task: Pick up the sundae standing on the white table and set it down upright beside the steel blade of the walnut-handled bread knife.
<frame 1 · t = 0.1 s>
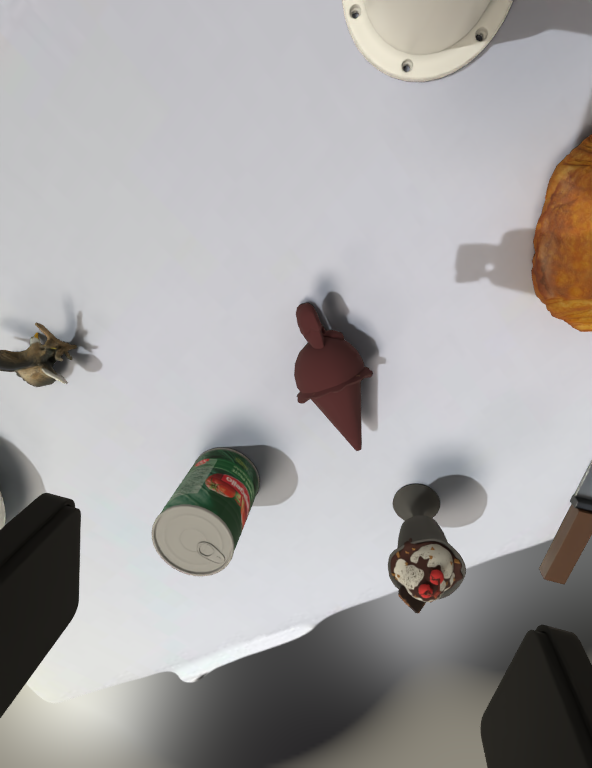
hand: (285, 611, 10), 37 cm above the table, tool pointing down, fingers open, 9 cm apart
canned tomato: (226, 477, 53), on the table
sundae: (415, 501, 50), on the table
icecream: (334, 366, 46), on the table
eagle figurine: (46, 351, 51), on the table
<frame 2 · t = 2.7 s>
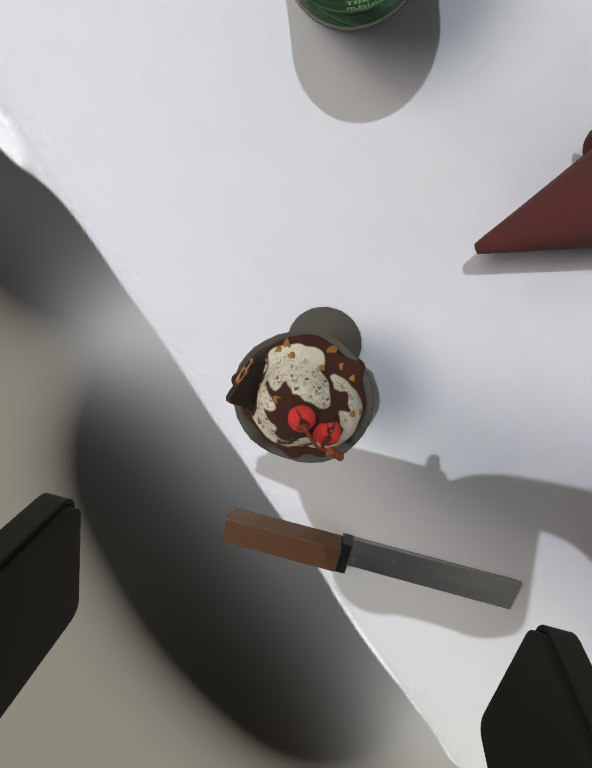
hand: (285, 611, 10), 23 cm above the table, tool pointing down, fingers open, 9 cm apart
knife: (380, 558, 36), on the table
sundae: (325, 342, 31), on the table
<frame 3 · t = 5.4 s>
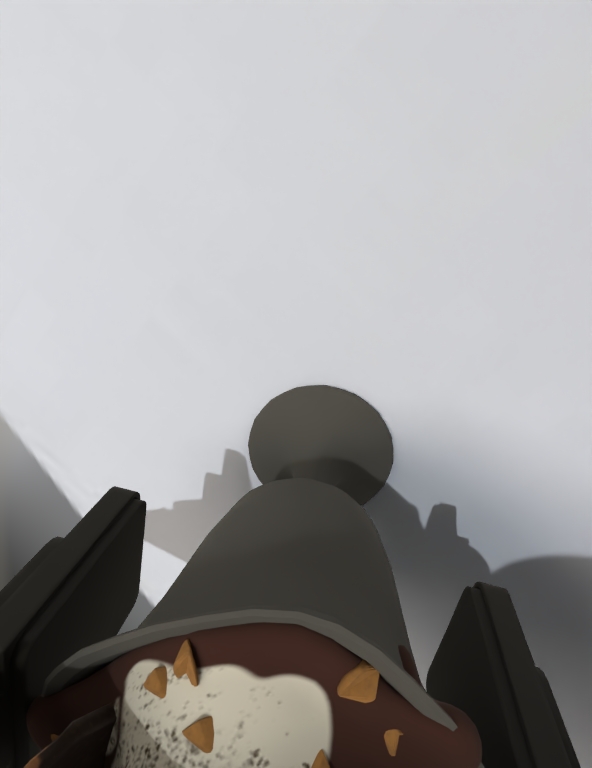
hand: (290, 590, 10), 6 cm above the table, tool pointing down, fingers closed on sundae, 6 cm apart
sundae: (321, 448, 16), on the table, touching gripper
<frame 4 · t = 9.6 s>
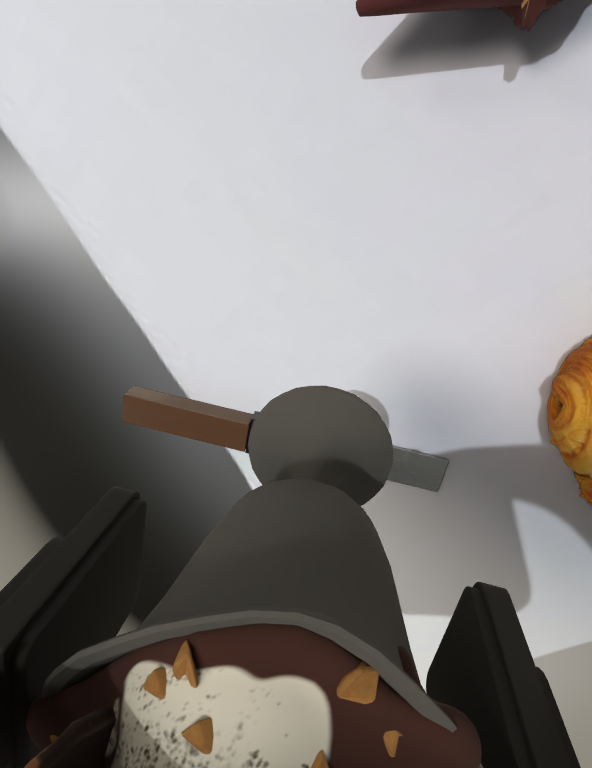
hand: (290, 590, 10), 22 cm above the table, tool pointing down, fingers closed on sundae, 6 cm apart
knife: (296, 439, 33), on the table
sundae: (321, 448, 16), point 15 cm above the table, touching gripper
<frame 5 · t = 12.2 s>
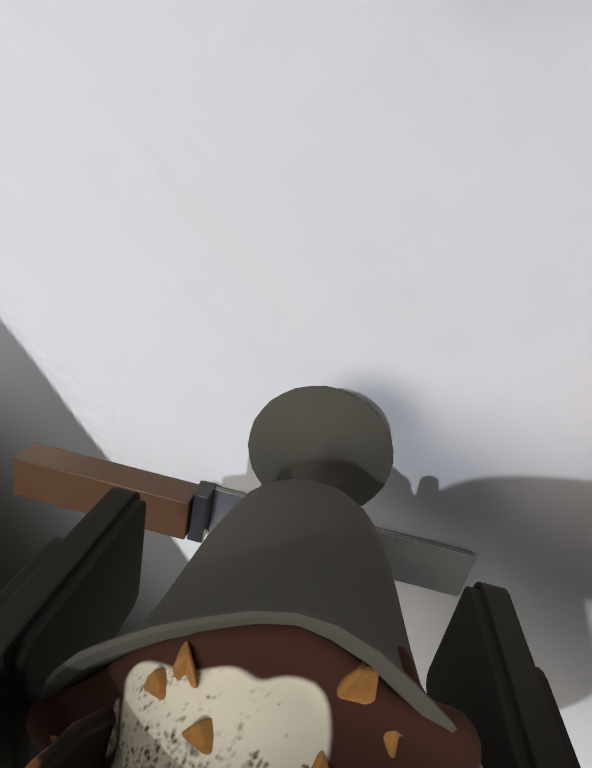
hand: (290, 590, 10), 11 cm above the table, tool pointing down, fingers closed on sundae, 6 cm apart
knife: (259, 518, 24), on the table
sundae: (321, 448, 16), point 5 cm above the table, touching gripper
when the fingers open (6 cm above the table, at t = 14.2 s): sundae stays where it is, on the table.
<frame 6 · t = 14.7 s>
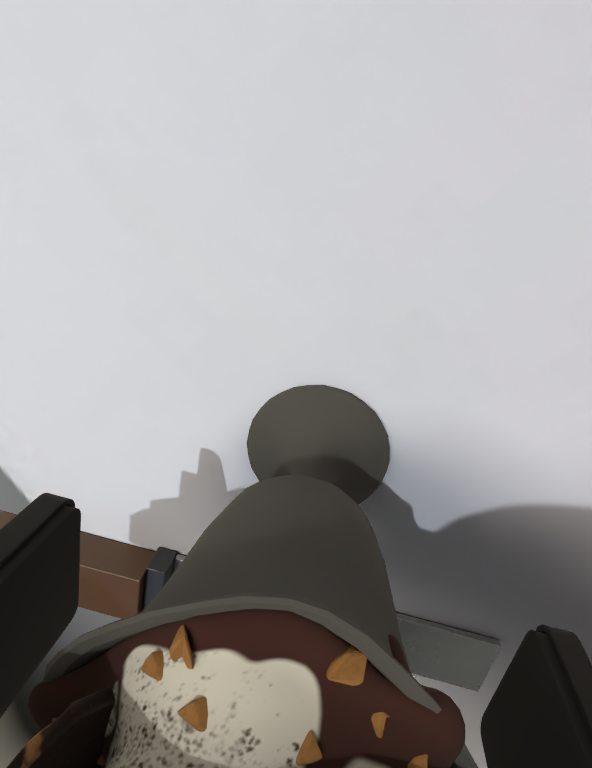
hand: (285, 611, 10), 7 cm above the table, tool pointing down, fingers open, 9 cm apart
knife: (232, 593, 19), on the table
sundae: (319, 447, 16), on the table
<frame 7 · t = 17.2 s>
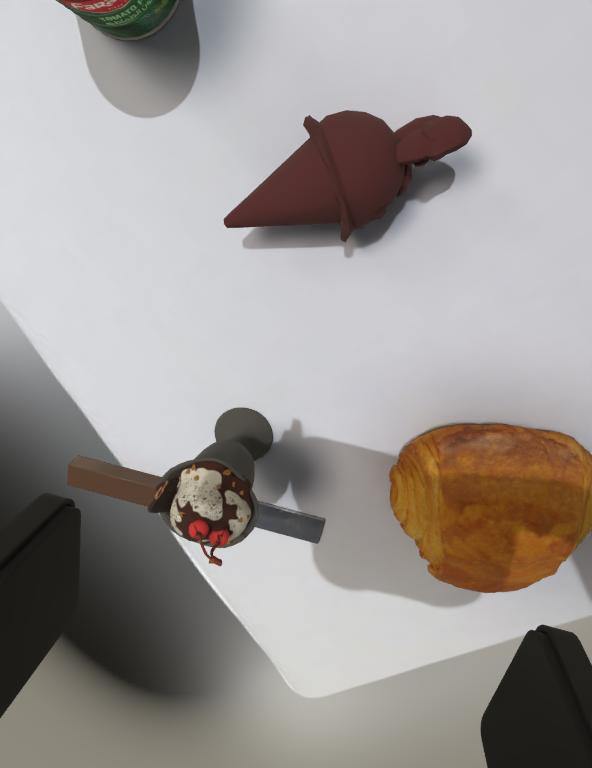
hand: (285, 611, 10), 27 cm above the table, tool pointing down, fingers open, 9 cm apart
knife: (208, 500, 42), on the table
sundae: (244, 433, 39), on the table
icecream: (340, 181, 31), on the table
croissant: (480, 488, 38), on the table
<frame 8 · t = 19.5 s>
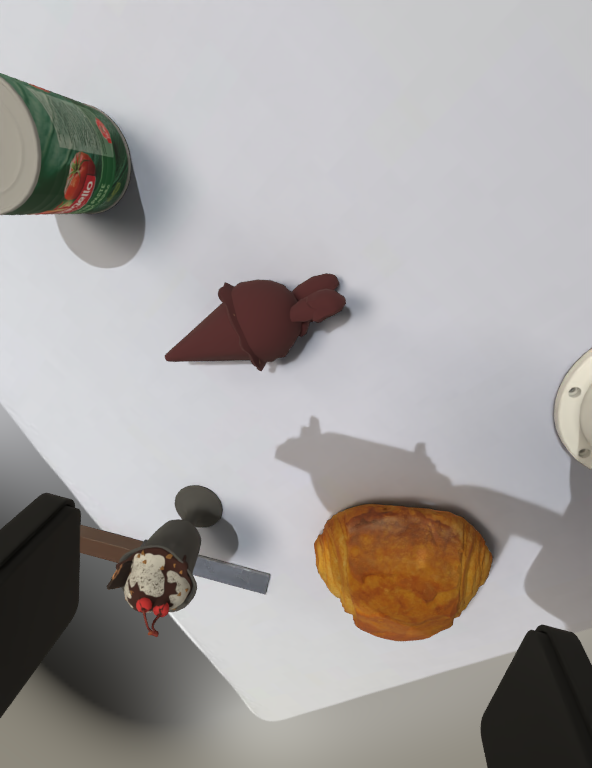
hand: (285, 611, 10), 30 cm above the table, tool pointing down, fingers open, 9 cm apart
canned tomato: (85, 161, 37), on the table
knife: (173, 557, 50), on the table
sundae: (199, 504, 47), on the table
icecream: (261, 315, 39), on the table
croissant: (395, 551, 45), on the table
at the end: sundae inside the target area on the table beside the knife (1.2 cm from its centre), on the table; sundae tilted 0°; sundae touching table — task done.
